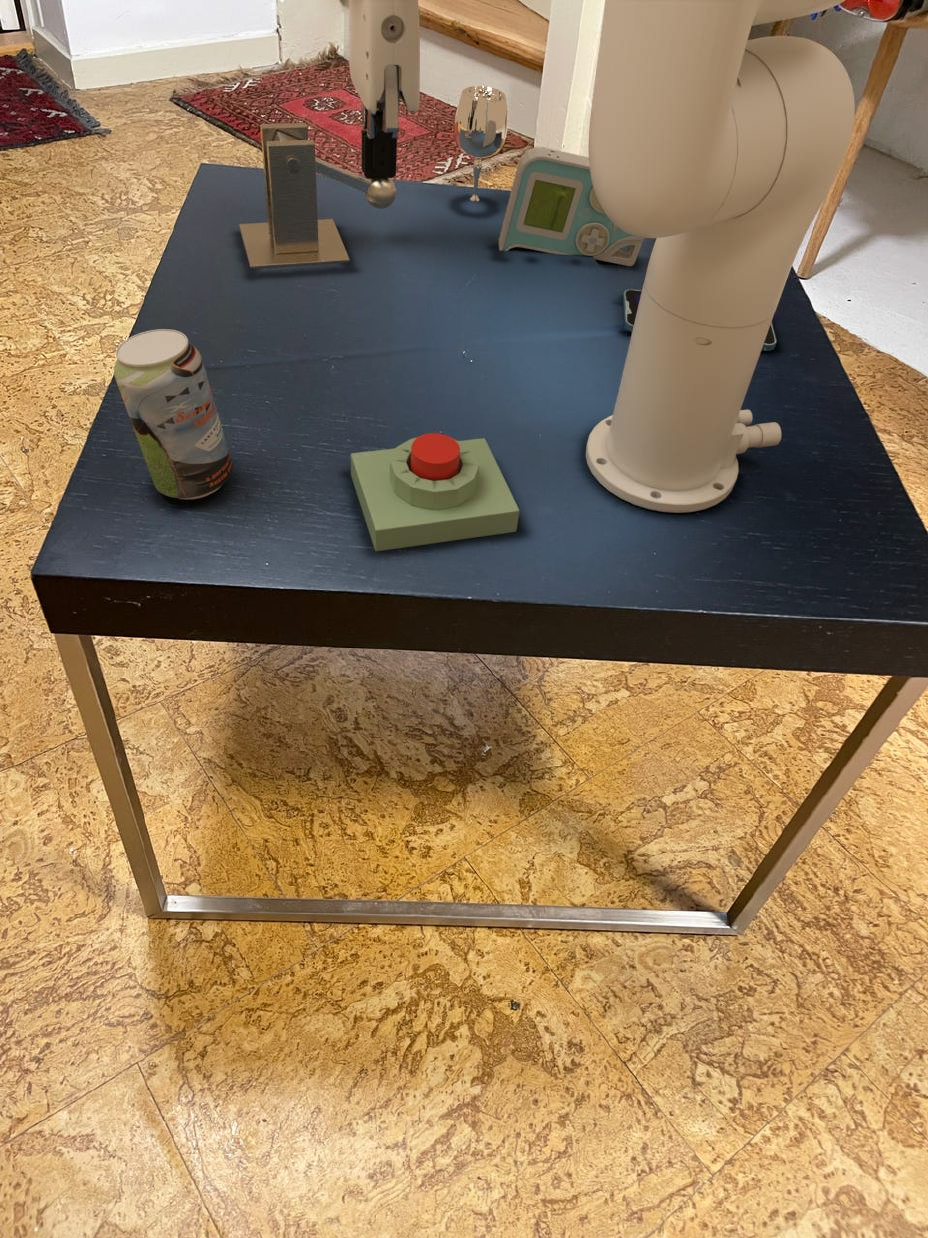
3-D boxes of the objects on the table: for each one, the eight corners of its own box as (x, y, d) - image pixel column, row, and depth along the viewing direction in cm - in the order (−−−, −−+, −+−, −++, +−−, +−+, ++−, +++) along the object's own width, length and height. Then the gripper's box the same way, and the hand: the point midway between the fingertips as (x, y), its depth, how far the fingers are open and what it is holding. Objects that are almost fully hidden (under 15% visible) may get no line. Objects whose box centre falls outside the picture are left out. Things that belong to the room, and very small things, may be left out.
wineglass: (506, 215, 108) (519, 102, 99) (459, 220, 107) (468, 106, 98) (487, 193, 112) (497, 82, 103) (441, 197, 110) (448, 85, 101)
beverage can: (217, 517, 71) (196, 379, 62) (124, 498, 72) (90, 359, 63) (247, 466, 75) (231, 330, 66) (158, 449, 76) (131, 312, 67)
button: (451, 449, 73) (452, 430, 72) (464, 478, 71) (465, 460, 69) (405, 454, 72) (406, 435, 71) (417, 484, 70) (418, 466, 68)
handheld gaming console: (630, 285, 104) (497, 258, 101) (627, 272, 106) (496, 246, 103) (668, 184, 96) (524, 152, 93) (663, 172, 98) (523, 141, 95)
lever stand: (333, 229, 103) (330, 113, 94) (350, 270, 97) (348, 151, 88) (239, 234, 100) (227, 116, 92) (251, 277, 95) (239, 155, 86)
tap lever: (384, 204, 99) (397, 175, 98) (391, 218, 97) (404, 189, 96) (266, 156, 93) (277, 124, 91) (271, 170, 91) (283, 137, 89)
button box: (482, 459, 78) (487, 418, 75) (516, 532, 72) (523, 491, 70) (350, 475, 75) (350, 434, 73) (375, 552, 70) (375, 511, 67)
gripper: (446, -13, 78) (433, 207, 92) (404, -64, 88) (397, 142, 101) (356, -14, 76) (357, 210, 90) (323, -66, 86) (328, 144, 99)
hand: (378, 174), depth 96 cm, fingers closed
